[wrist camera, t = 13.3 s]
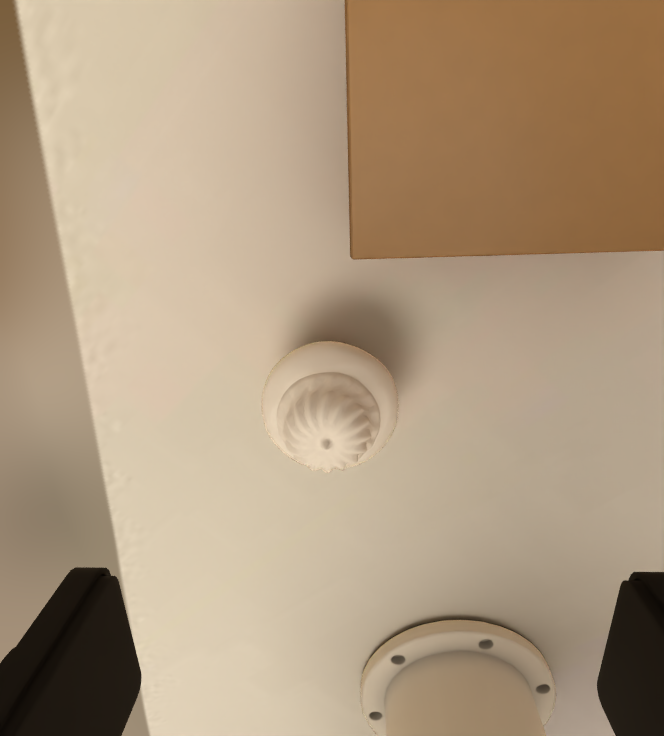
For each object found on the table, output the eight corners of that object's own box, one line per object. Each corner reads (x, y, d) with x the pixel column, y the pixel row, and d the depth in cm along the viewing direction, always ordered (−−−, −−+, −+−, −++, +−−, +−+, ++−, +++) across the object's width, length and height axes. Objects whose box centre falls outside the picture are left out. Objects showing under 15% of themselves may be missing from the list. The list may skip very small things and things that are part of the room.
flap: (889, 242, 13) (903, 243, 12) (352, 257, 13) (352, 259, 13) (1008, -93, 10) (1029, -102, 10) (345, -53, 11) (345, -60, 11)
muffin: (320, 450, 27) (309, 538, 20) (248, 364, 25) (211, 431, 19) (416, 389, 25) (438, 465, 19) (347, 294, 24) (344, 341, 17)
